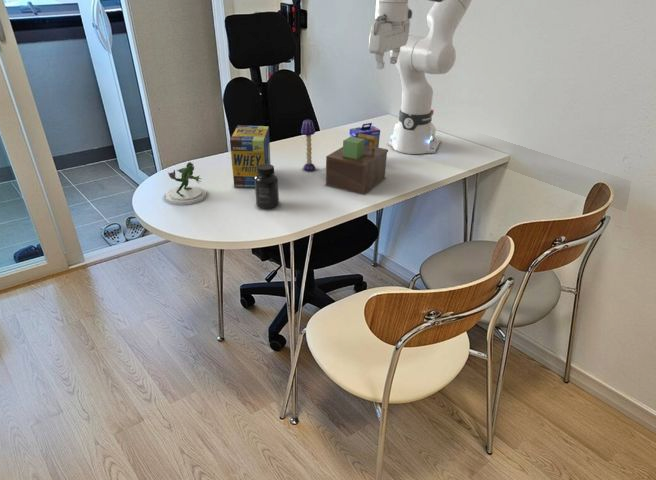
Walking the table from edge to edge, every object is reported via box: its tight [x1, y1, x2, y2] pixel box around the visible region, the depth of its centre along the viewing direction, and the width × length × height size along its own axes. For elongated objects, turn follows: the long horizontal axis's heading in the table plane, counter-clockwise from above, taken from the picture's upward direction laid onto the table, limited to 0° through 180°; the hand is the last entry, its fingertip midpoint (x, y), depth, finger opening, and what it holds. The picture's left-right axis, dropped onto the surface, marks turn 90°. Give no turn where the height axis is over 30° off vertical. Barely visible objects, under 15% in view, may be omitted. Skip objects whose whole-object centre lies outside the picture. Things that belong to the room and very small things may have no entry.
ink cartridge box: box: [348, 122, 381, 148], centre depth 174 cm, size 10×6×14 cm, turn 117°
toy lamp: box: [300, 119, 316, 172], centre depth 167 cm, size 5×5×17 cm
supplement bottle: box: [254, 163, 280, 211], centre depth 144 cm, size 7×7×12 cm
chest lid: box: [325, 133, 389, 167], centre depth 157 cm, size 17×14×5 cm
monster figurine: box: [165, 161, 207, 206], centre depth 149 cm, size 12×12×10 cm
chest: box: [325, 152, 388, 196], centre depth 160 cm, size 16×14×9 cm
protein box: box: [229, 124, 271, 189], centre depth 159 cm, size 10×15×16 cm
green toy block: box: [342, 136, 365, 159], centre depth 154 cm, size 5×5×5 cm
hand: (387, 66), depth 146 cm, fingers open, 8 cm apart
